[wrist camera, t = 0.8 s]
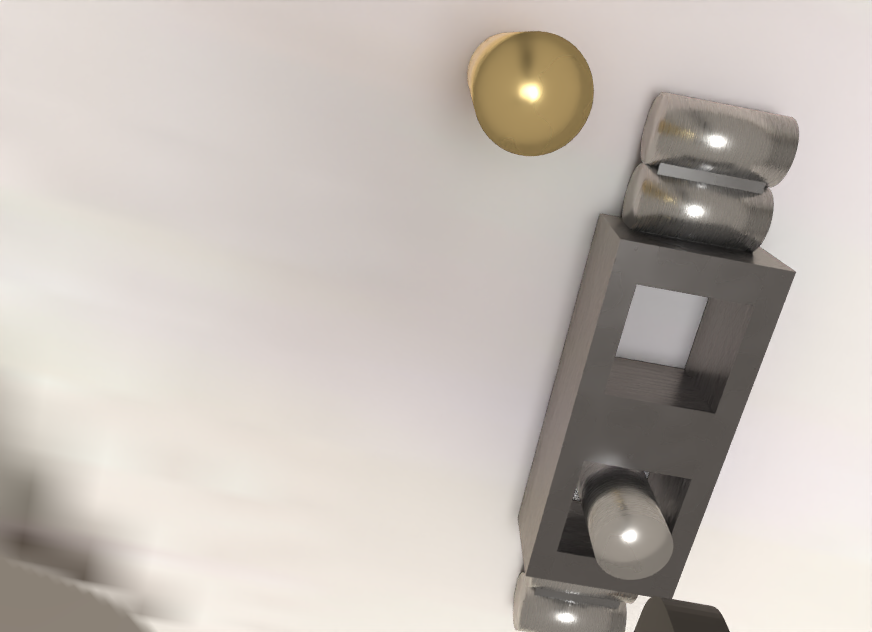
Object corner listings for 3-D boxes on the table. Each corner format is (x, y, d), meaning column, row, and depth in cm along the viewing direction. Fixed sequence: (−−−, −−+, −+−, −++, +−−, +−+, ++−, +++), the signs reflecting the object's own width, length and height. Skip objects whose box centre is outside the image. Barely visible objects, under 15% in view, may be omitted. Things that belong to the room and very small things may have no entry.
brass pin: (476, 25, 27) (487, 20, 18) (555, 40, 27) (607, 43, 18) (460, 107, 28) (462, 144, 19) (536, 122, 28) (576, 165, 19)
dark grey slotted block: (634, 85, 28) (679, 98, 22) (797, 117, 28) (882, 138, 22) (495, 599, 37) (503, 701, 31) (620, 620, 37) (649, 725, 31)
